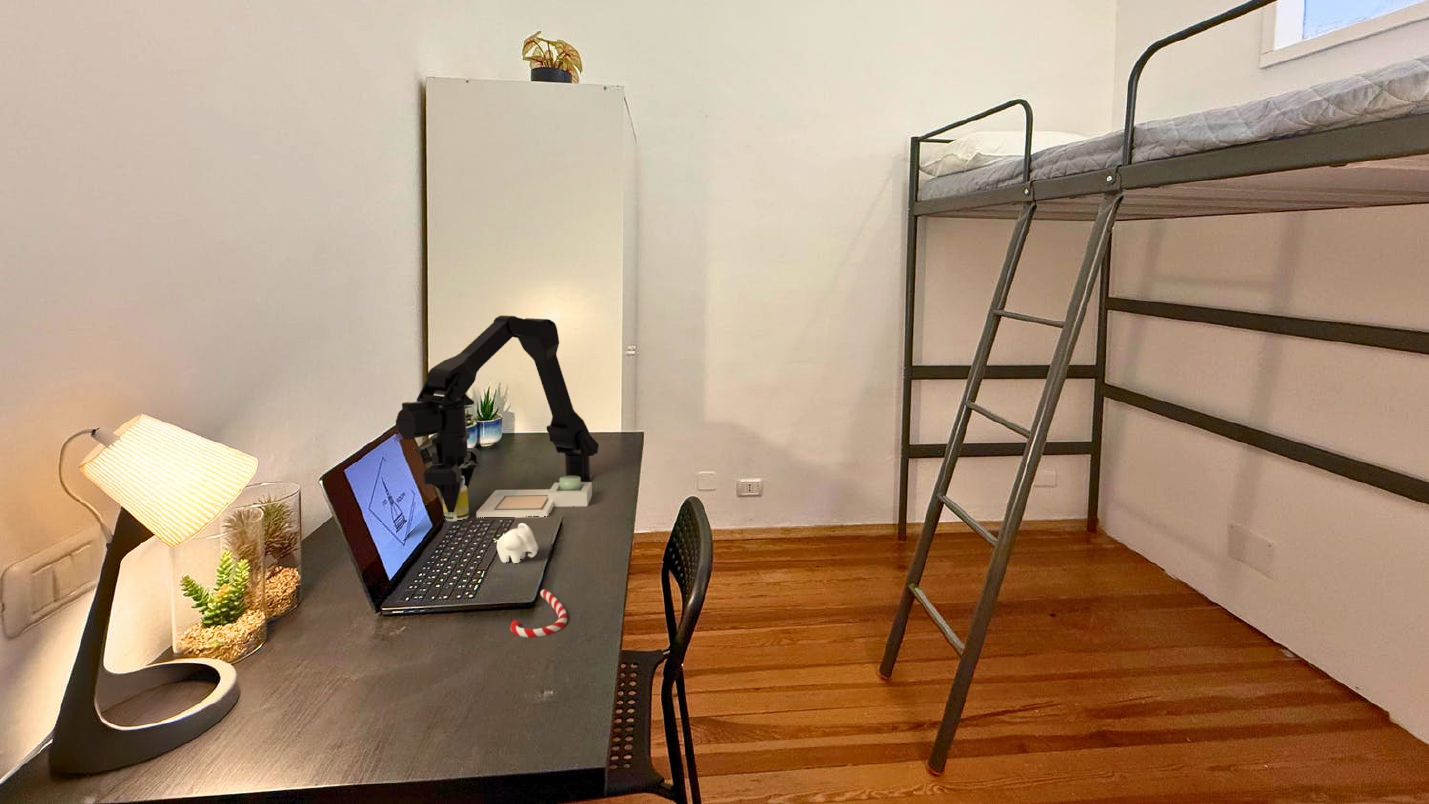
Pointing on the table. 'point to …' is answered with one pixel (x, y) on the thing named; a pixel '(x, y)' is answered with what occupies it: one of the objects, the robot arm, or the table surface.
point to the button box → (570, 496)
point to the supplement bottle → (459, 506)
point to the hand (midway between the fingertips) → (455, 507)
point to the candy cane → (549, 629)
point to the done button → (570, 483)
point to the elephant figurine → (517, 544)
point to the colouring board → (516, 504)
